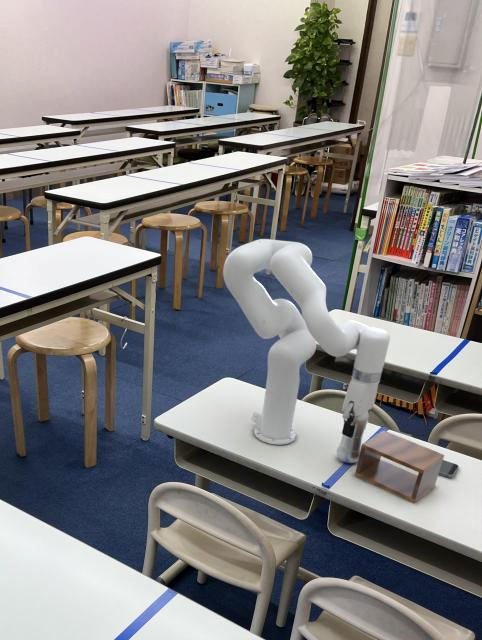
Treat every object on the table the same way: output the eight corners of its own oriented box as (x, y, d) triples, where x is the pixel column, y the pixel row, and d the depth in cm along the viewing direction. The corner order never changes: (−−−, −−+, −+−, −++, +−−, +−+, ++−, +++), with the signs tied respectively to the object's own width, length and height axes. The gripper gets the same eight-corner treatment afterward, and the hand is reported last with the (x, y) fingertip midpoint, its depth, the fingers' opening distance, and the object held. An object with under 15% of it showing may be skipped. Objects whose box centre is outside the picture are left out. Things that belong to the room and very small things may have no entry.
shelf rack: (354, 475, 196) (362, 443, 190) (375, 461, 203) (383, 430, 198) (414, 503, 185) (424, 470, 180) (434, 486, 192) (444, 454, 187)
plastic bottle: (359, 467, 200) (374, 405, 189) (335, 464, 201) (349, 401, 190) (358, 456, 205) (372, 395, 195) (334, 453, 206) (348, 392, 196)
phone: (458, 467, 201) (403, 449, 209) (459, 464, 201) (404, 447, 209) (451, 478, 196) (395, 460, 204) (452, 476, 196) (396, 457, 203)
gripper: (370, 361, 196) (357, 418, 206) (337, 378, 186) (325, 436, 195) (394, 370, 192) (380, 427, 201) (362, 387, 181) (349, 447, 191)
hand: (353, 431), depth 198 cm, fingers closed on plastic bottle, 6 cm apart
